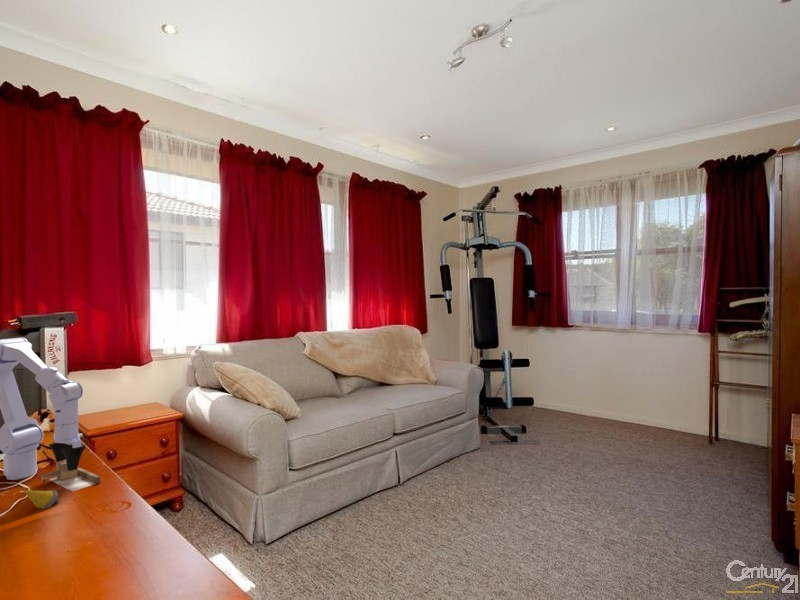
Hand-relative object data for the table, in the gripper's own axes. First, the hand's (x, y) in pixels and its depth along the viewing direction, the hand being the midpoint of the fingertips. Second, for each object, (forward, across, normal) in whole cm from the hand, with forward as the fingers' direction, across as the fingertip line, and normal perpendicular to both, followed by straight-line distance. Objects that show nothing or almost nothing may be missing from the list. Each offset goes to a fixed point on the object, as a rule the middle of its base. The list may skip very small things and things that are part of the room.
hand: (67, 467), depth 133 cm
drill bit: (+5, -17, +12) cm, 21 cm away
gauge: (+3, 0, +2) cm, 4 cm away
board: (+4, -5, 0) cm, 7 cm away
